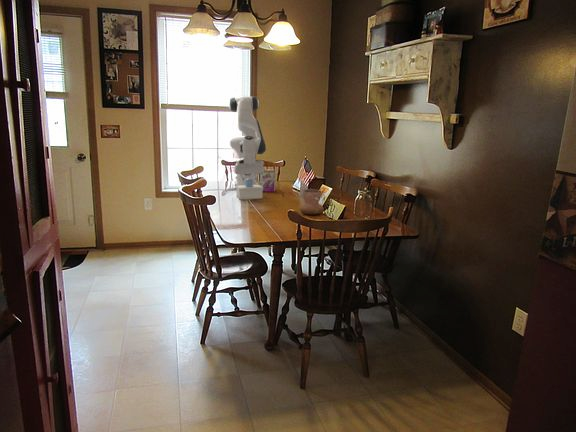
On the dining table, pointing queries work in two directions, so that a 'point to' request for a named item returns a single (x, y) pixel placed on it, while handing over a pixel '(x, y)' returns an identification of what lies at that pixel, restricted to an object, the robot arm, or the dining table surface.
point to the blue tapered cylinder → (249, 182)
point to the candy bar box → (268, 180)
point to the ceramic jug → (311, 202)
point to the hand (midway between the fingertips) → (249, 180)
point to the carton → (249, 194)
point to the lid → (249, 188)
